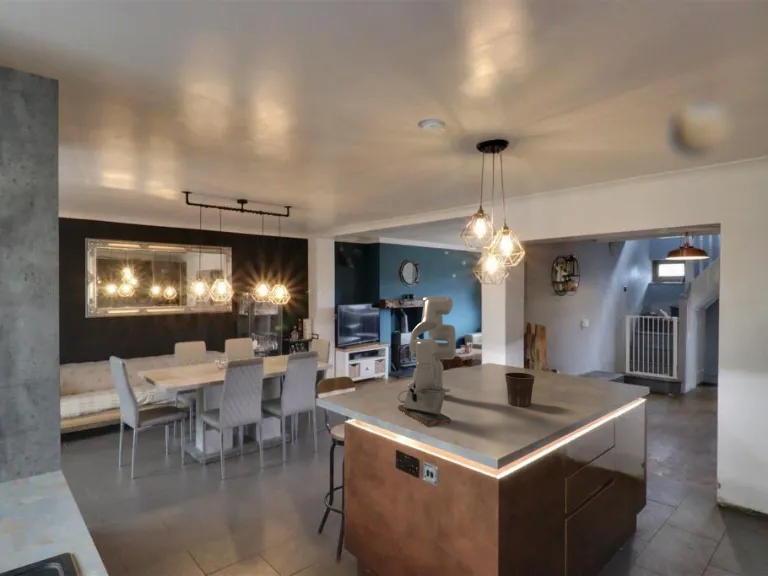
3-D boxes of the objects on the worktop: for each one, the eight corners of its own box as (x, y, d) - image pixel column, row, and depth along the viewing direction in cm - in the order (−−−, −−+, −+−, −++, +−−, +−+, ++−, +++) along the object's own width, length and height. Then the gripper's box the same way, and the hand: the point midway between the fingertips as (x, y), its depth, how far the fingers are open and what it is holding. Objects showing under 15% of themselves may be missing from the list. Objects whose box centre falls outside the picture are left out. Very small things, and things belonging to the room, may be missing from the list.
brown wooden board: (419, 407, 234) (420, 402, 234) (450, 423, 207) (450, 417, 207) (398, 409, 229) (398, 405, 229) (426, 426, 202) (426, 420, 202)
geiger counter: (448, 388, 216) (406, 381, 232) (442, 383, 212) (400, 377, 227) (441, 416, 211) (398, 407, 226) (435, 412, 206) (392, 403, 222)
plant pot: (536, 409, 233) (537, 378, 233) (505, 407, 237) (505, 377, 237) (532, 401, 249) (533, 373, 249) (503, 399, 252) (503, 371, 253)
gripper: (434, 363, 225) (434, 397, 225) (404, 365, 218) (404, 400, 218) (442, 366, 218) (442, 400, 218) (411, 368, 211) (411, 404, 211)
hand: (423, 400), depth 218 cm, fingers open, 9 cm apart
